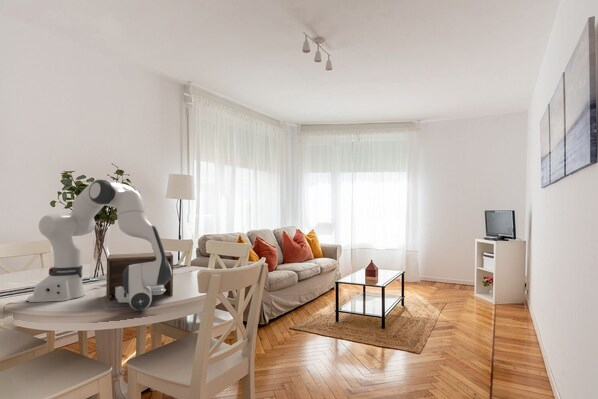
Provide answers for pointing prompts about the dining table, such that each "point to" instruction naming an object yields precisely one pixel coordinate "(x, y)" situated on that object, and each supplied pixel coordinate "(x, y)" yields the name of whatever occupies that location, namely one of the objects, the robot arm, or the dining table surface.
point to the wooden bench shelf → (121, 261)
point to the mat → (117, 304)
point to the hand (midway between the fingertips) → (140, 286)
